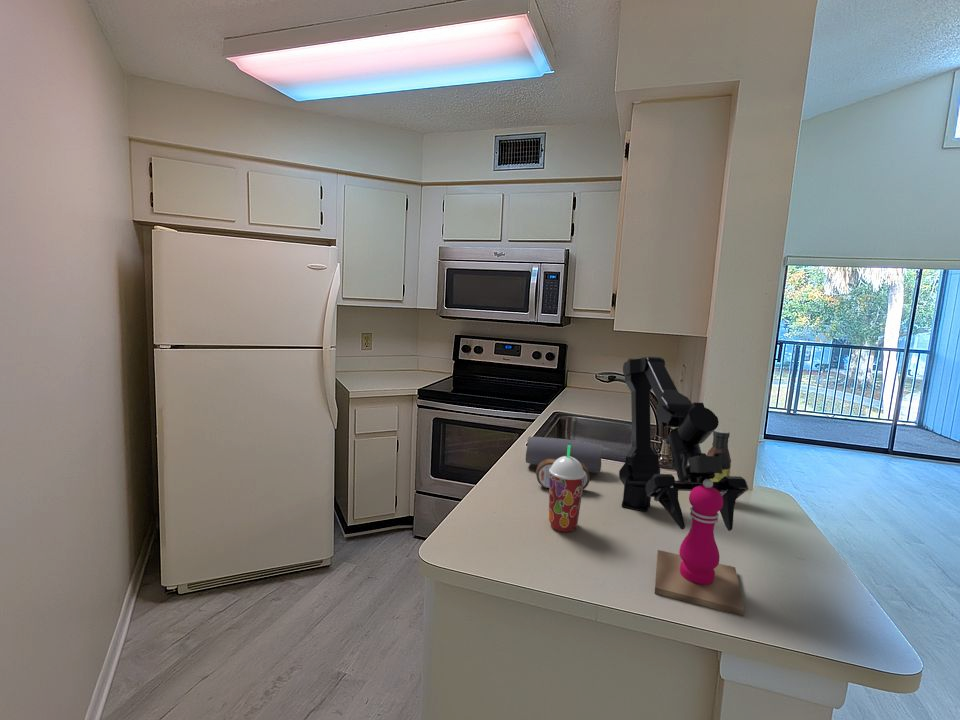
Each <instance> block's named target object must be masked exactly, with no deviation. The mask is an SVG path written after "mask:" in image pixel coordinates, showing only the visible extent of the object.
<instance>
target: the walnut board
mask: <svg viewBox="0 0 960 720" xmlns="http://www.w3.org/2000/svg"><path fill="white" fill-rule="evenodd" d="M656 556H657V557H656V568H655V569H656V570H655V580H654V581H655V584H654V595H660V596H664V597H668V598H671V599H675V600H679V601H683V602H686V603H690V604H695V605H698V606H703V607H706V608H711V609H713V610H718V611H722V612H727V613H730V614H734V615H738V616H742V617H744V616H745V615H744V614H745V607H744V603H743V596H742V593H741V588H740V583H739V579H738V574H737V569H736V567H735V566H731V565H726V564H723V563H722V564H721V563H719V564H718V566H717V567H716V568H714V571H715V576H714V581H713V583H711V584H707V585H702V584H696V583H693V582H691V581H689V580H687V579H685V578H684V577H683V576H682V575H681V574H680V564H681V562H682V561H683V560H682V559H681V557H680V554H677V553H673V552H668V551H664V550H661V549H658V550H657V555H656Z"/></svg>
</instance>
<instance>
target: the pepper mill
mask: <svg viewBox="0 0 960 720" xmlns="http://www.w3.org/2000/svg"><path fill="white" fill-rule="evenodd" d="M712 486H713V482H712V481H711V480H710V479H705V480H704V481H703V485H700V486H696V487H695V488H693V489H692V490H691V491H689V492H690V493H689V496H688V501H689V504H690V505H691V507H690V512H689V515H690V518H691V527H690V529H689V532H688V533H687V535H686V536H685V537H684V538H683V540H682V542H681V544H680V547H679V552H678V553H679V554H678V555H680V557H681V559H682V560H683V561H682V562H681V564H680V574H681V575H682V576H683V577H684V578H685V579H687V580H689V581H691V582H693V583H696V584H702V585H707V584H711V583H713V581H714V576H715V571H714V568H716V567H717V566H718V564H720V552H719V551H720V550H719V548H718V544H717V542H716V539H715V534H714V533H715V530H714V529H715V525H716V523H718V521H719V514H720V513H718V512H720V510H721V508H722V506H723V497H722V495H721V493H720V492H719V491H718V490H717V489H715V488H713V487H712Z"/></svg>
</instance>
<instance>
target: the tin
mask: <svg viewBox="0 0 960 720" xmlns="http://www.w3.org/2000/svg"><path fill="white" fill-rule="evenodd" d="M556 460H557V459H546V460H544V461H542V462H541V463H540V464H539V465H536V470H535V475H536V479H537V483H538V484H539V485H540V486H541V487H543V489H544V488H545V489H547V488H549V468H551V466H552V464H553V463H554V462H555V461H556ZM580 464H581V465H582V468H583V471H584V472H585V477H584V484H583V490H585V489H586V488H587V487H588V486H589V483H590V479H591V476H590V475H591V474H590V473H591V472H589V470H588V468H587V467H586V466H585V465H584V464H583V463H581V462H580Z"/></svg>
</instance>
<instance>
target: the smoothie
mask: <svg viewBox="0 0 960 720" xmlns="http://www.w3.org/2000/svg"><path fill="white" fill-rule="evenodd" d="M570 447H571V446H570V445H568V449H567V456H563V457H560V458H558V459H557V460H556V461H555V462H554V463H553V464H552V466H551V468H549V489H548V521H549V523H550V527H551V528H553V529H554V530H556V531H558V532H565V533H569V532H572V531H574V530H575V528H576V526H577V525H578V523H579V522H578V521H579V517H580V510H581V503H582V497H583V492H584V491H583V490H584V489H583V484H584V477H585V472H584V471H583V468H582V465H581V464H580V462H579V461H578V460H577V459H575V458H573V457H571V456H570Z"/></svg>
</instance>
